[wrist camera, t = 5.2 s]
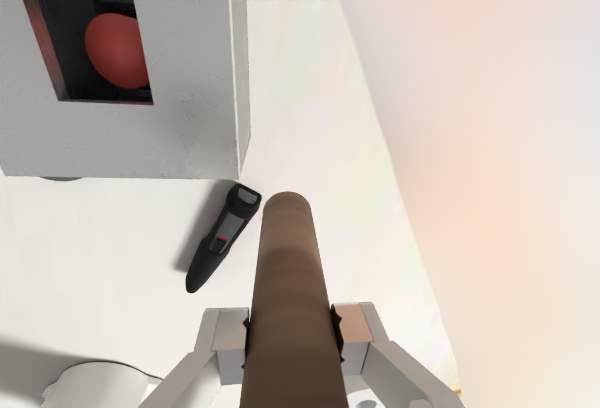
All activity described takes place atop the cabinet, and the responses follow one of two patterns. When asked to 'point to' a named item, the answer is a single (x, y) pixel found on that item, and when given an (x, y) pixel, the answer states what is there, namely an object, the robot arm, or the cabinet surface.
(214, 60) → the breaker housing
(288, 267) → the walnut dowel
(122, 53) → the button
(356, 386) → the toilet tissue
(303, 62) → the cabinet surface
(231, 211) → the electric trimmer
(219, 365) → the robot arm
